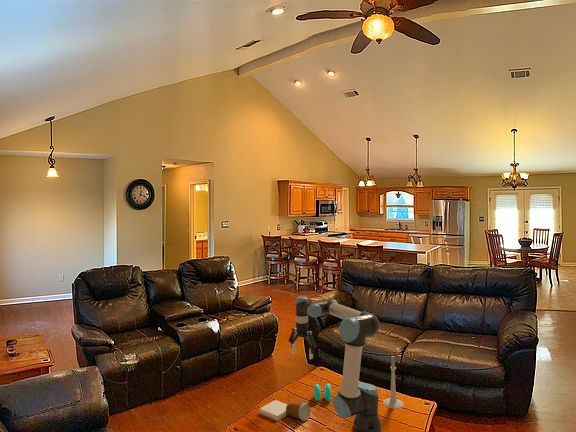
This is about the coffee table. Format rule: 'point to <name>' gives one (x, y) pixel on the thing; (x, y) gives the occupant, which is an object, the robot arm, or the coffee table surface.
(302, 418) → the disposable coffee cup
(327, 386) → the teal wheels on axle
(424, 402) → the coffee table surface
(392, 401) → the candlestick
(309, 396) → the coffee table surface
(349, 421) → the coffee table surface
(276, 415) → the plinth
